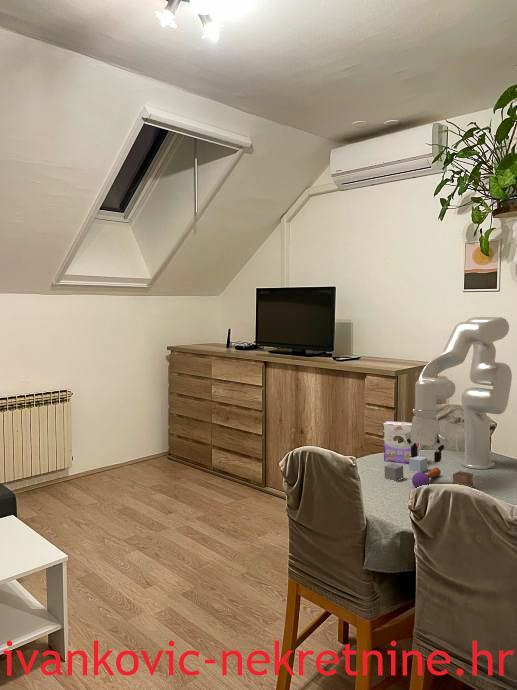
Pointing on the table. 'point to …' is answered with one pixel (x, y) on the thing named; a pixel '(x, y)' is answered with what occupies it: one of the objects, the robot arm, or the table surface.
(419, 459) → the dusty blue block
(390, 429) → the candy box
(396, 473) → the charcoal block
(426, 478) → the kendama
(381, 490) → the table surface
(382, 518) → the table surface
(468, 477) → the walnut block
